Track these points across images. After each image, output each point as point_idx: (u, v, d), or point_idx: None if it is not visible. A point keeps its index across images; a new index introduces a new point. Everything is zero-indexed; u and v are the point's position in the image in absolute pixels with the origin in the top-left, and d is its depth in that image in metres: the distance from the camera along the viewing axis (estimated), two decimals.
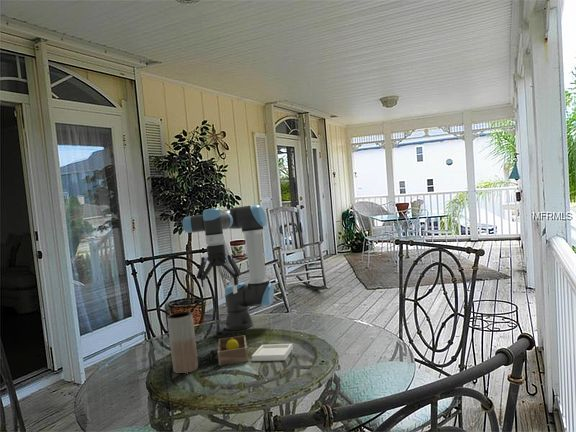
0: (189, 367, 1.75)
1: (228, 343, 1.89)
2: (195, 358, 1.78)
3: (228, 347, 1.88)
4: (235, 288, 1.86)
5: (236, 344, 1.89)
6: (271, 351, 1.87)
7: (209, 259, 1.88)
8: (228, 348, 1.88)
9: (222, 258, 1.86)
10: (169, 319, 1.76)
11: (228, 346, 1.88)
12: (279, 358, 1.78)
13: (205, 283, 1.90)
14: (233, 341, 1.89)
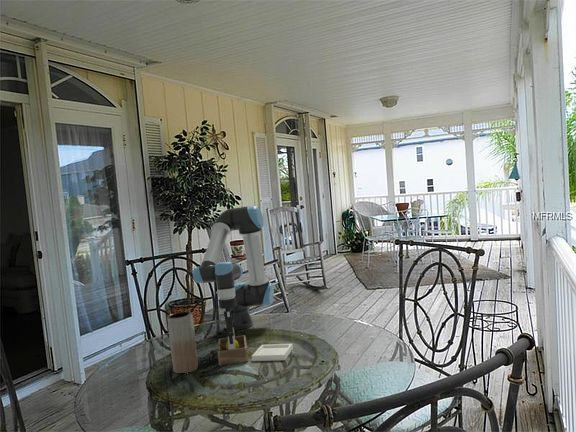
0: (189, 367, 1.75)
1: None
2: (195, 358, 1.78)
3: (228, 347, 1.88)
4: (231, 347, 1.83)
5: (236, 344, 1.89)
6: (271, 351, 1.87)
7: None
8: (228, 348, 1.88)
9: None
10: (169, 319, 1.76)
11: (228, 346, 1.88)
12: (279, 358, 1.78)
13: None
14: None
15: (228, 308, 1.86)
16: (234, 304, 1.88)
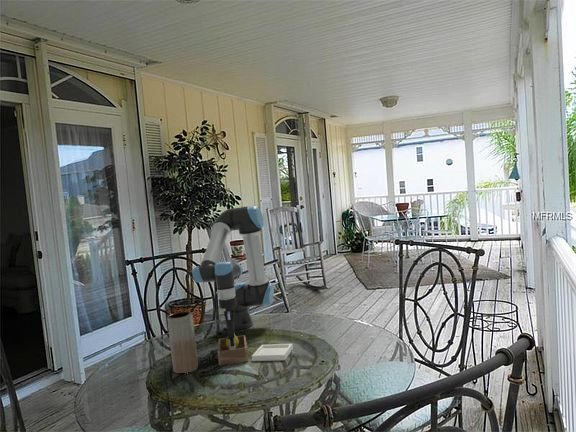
0: (189, 367, 1.75)
1: (228, 339, 1.89)
2: (195, 358, 1.78)
3: (228, 343, 1.88)
4: (232, 348, 1.87)
5: (236, 340, 1.89)
6: (271, 351, 1.87)
7: None
8: (228, 344, 1.88)
9: (226, 313, 1.87)
10: (169, 319, 1.76)
11: (228, 342, 1.88)
12: (279, 358, 1.78)
13: None
14: None
15: (228, 308, 1.87)
16: (234, 304, 1.88)
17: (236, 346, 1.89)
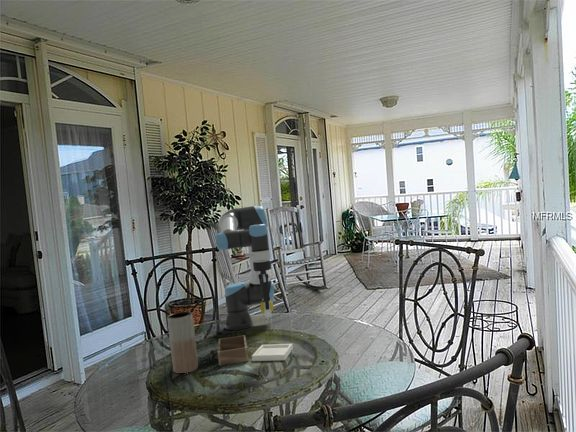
0: (189, 367, 1.75)
1: (262, 302, 1.84)
2: (195, 358, 1.78)
3: (263, 306, 1.83)
4: (267, 312, 1.82)
5: (271, 303, 1.84)
6: (271, 351, 1.87)
7: None
8: (263, 307, 1.83)
9: (261, 276, 1.82)
10: (169, 319, 1.76)
11: (263, 305, 1.83)
12: (279, 358, 1.78)
13: None
14: None
15: (263, 270, 1.82)
16: (269, 267, 1.83)
17: (271, 310, 1.84)
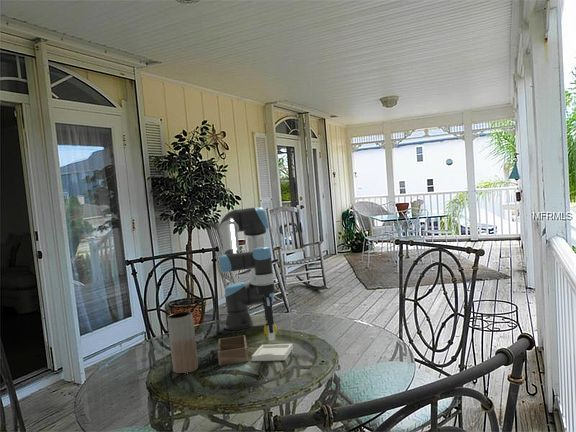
0: (189, 367, 1.75)
1: None
2: (195, 358, 1.78)
3: (266, 330, 1.83)
4: (271, 335, 1.82)
5: (274, 327, 1.84)
6: (271, 351, 1.87)
7: None
8: (266, 331, 1.83)
9: (264, 299, 1.82)
10: (169, 319, 1.76)
11: (266, 328, 1.83)
12: (279, 358, 1.78)
13: None
14: None
15: (267, 294, 1.82)
16: (273, 290, 1.84)
17: None
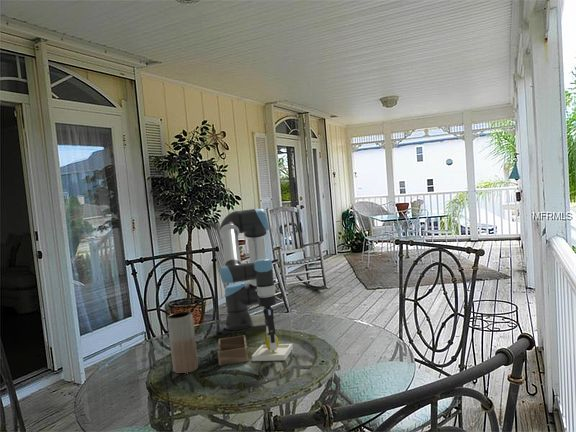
0: (189, 367, 1.75)
1: (268, 339, 1.84)
2: (195, 358, 1.78)
3: (268, 343, 1.83)
4: (273, 345, 1.79)
5: (276, 340, 1.84)
6: (271, 351, 1.87)
7: None
8: (268, 344, 1.83)
9: (266, 311, 1.82)
10: (169, 319, 1.76)
11: (268, 342, 1.84)
12: (279, 358, 1.78)
13: (268, 330, 1.92)
14: None
15: (268, 306, 1.82)
16: (274, 302, 1.84)
17: None
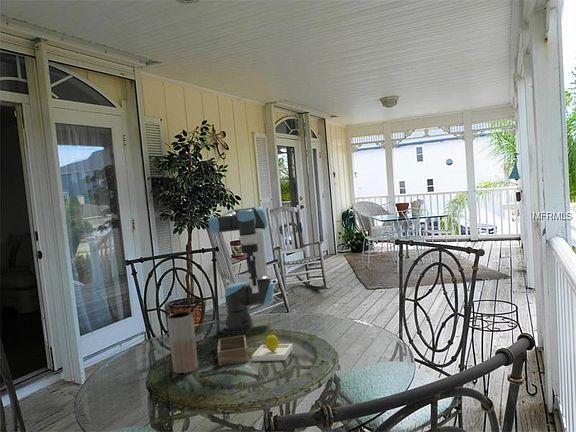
0: (189, 367, 1.75)
1: (268, 339, 1.84)
2: (195, 358, 1.78)
3: (268, 343, 1.84)
4: (254, 288, 1.94)
5: (276, 340, 1.84)
6: (271, 351, 1.87)
7: (247, 256, 2.03)
8: (268, 344, 1.84)
9: (248, 258, 1.97)
10: (169, 319, 1.76)
11: (268, 342, 1.84)
12: (279, 358, 1.78)
13: (250, 276, 2.07)
14: (273, 337, 1.85)
15: (251, 253, 1.96)
16: (256, 249, 1.98)
17: (276, 346, 1.84)
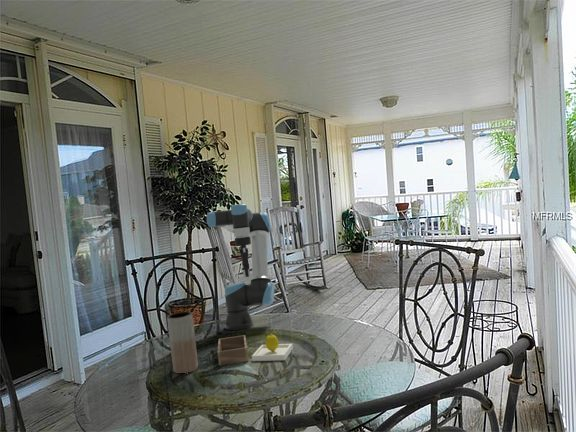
0: (189, 367, 1.75)
1: (268, 339, 1.84)
2: (195, 358, 1.78)
3: (268, 343, 1.84)
4: (247, 279, 2.00)
5: (276, 340, 1.84)
6: (271, 351, 1.87)
7: None
8: (268, 344, 1.84)
9: (241, 250, 2.04)
10: (169, 319, 1.76)
11: (268, 342, 1.84)
12: (279, 358, 1.78)
13: None
14: (273, 337, 1.85)
15: (244, 245, 2.04)
16: (249, 242, 2.06)
17: (276, 346, 1.84)
